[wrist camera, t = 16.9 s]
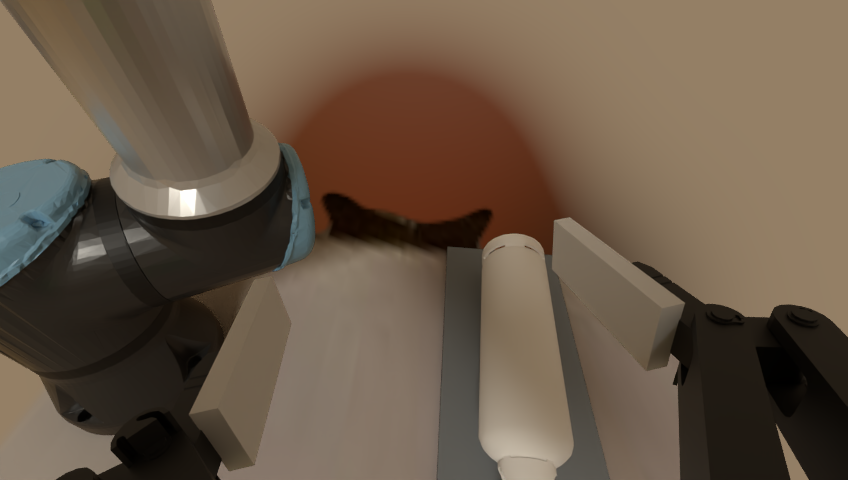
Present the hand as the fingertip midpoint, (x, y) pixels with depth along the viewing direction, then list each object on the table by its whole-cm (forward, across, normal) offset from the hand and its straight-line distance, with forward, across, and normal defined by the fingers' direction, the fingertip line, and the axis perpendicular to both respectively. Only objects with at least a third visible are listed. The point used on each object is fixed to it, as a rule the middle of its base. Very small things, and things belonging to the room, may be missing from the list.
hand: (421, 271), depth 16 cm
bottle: (+25, +14, -17) cm, 33 cm away
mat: (+16, +10, -24) cm, 30 cm away
